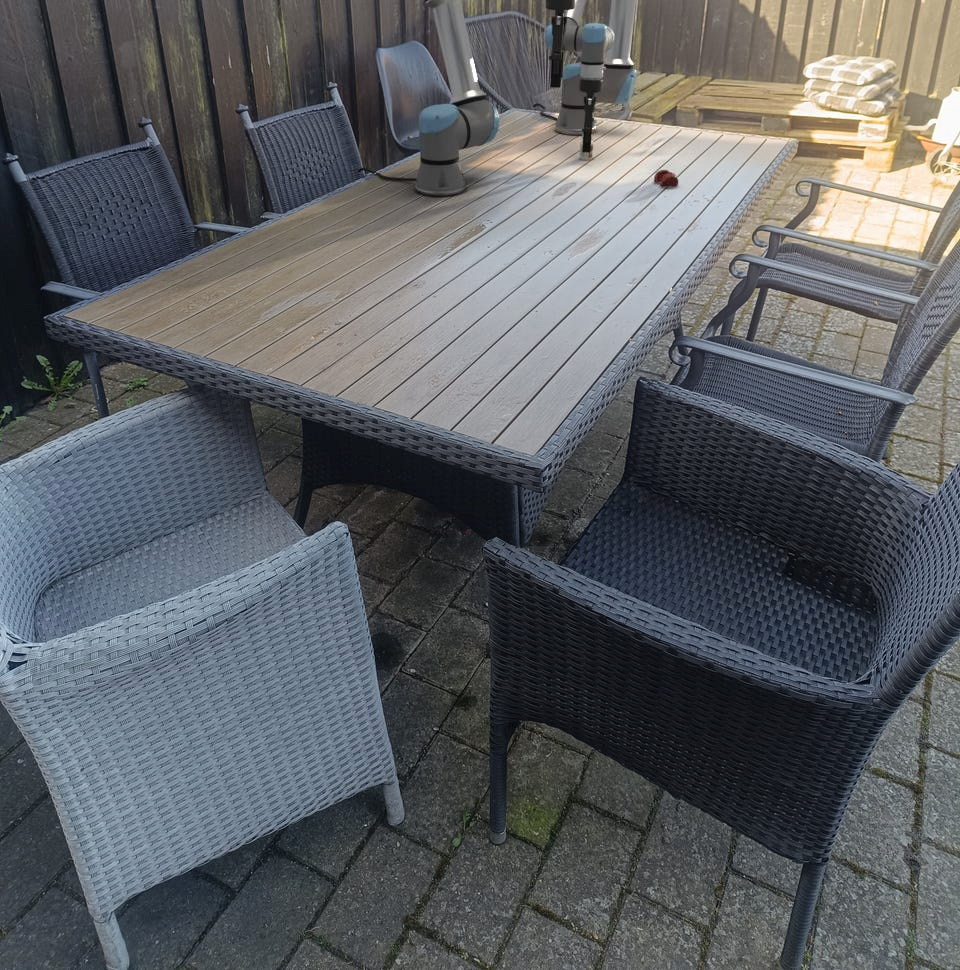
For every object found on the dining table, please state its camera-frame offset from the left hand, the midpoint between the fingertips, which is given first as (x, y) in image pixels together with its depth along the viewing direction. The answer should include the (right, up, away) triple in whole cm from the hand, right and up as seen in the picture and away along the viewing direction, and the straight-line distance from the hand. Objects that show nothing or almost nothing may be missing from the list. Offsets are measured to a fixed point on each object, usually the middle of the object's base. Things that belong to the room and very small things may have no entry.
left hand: (556, 82), depth 227 cm
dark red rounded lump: (+37, -15, +36) cm, 54 cm away
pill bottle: (+16, +3, +61) cm, 63 cm away
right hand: (+16, +6, +59) cm, 61 cm away
